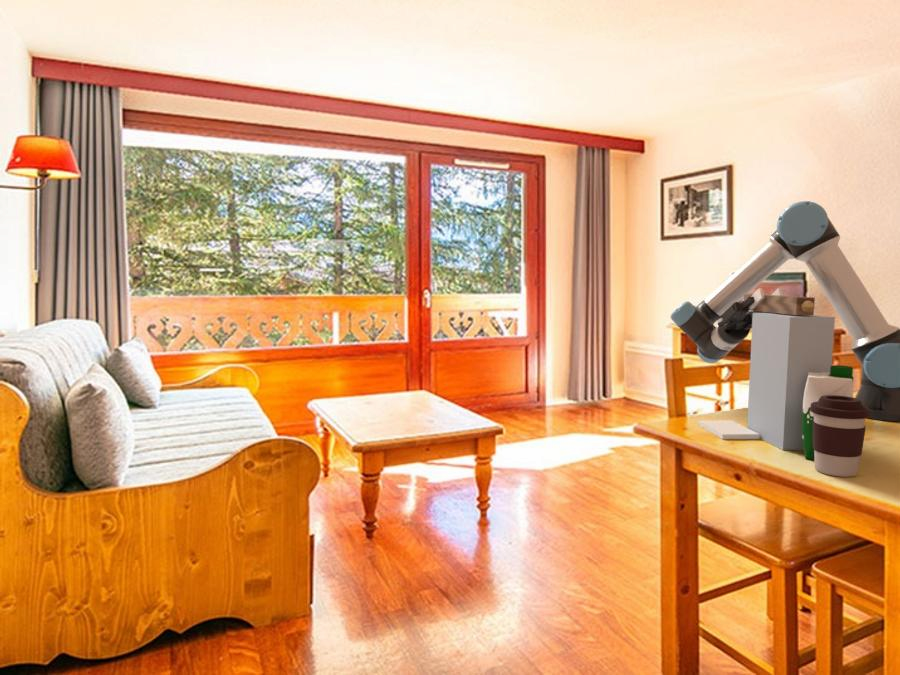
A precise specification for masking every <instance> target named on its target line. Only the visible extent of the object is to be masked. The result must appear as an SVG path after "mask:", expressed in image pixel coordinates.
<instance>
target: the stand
mask: <svg viewBox="0 0 900 675" xmlns="http://www.w3.org/2000/svg"><path fill="white" fill-rule="evenodd" d="M835 320H836V317H835V316H827V315H817V314H814V315H789V314H780V313H753V318H752V328H751V337H750V338H751V343H750V358H749V359H750V363H749V382H748V400H747V401H748V404H747V421H746V422H747V424H746V428H748V429H750V430H752V431H754V432H756V433H758V434H760V439H759V440H762V441H764V442H765V443H768V444H770V445H772V446H773V447H776V448H777V447H778V449H779V448H780V450H781V449H782V450H781V451H804V445H803V439H802V410H803V397H804V390H805V385H806V381H807V376H808V372H813V373H822V372H825V373H830V367H831V366H832V365H833V356H834V355H833V352H834V339H835V337H834V336H835Z"/></svg>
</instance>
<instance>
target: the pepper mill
mask: <svg viewBox="0 0 900 675" xmlns="http://www.w3.org/2000/svg"><path fill="white" fill-rule="evenodd" d="M753 294H754V293H751V294H750V293H749V294H744V298H743V301H745V300H746V299H747V298H748V297H751V296H752V295H753ZM764 296H765V298H764V299H763V300H762V301H761V302H760V303H759V304H758V305H757V306H756V307H755V308H754V309H752V310H750V309H749V308H748V309H749V311H762V312H771V313H780V314H789V315H815V300H816V299H815V297H812V296H809V297H808V296H795V295H794V296H793V295H783V296H779V295H771V294H764Z"/></svg>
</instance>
